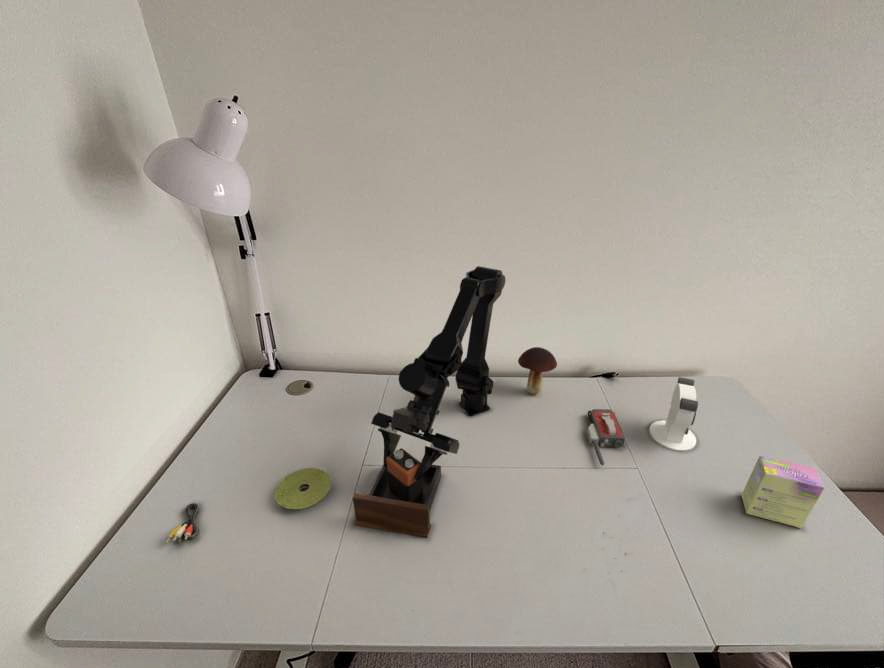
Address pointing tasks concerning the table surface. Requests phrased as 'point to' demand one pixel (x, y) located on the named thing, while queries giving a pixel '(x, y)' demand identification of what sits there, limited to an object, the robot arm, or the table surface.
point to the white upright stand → (678, 419)
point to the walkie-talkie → (604, 430)
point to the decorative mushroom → (537, 366)
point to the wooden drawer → (397, 506)
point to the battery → (404, 475)
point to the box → (782, 491)
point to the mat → (303, 488)
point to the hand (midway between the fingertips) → (400, 473)
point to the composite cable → (186, 526)
